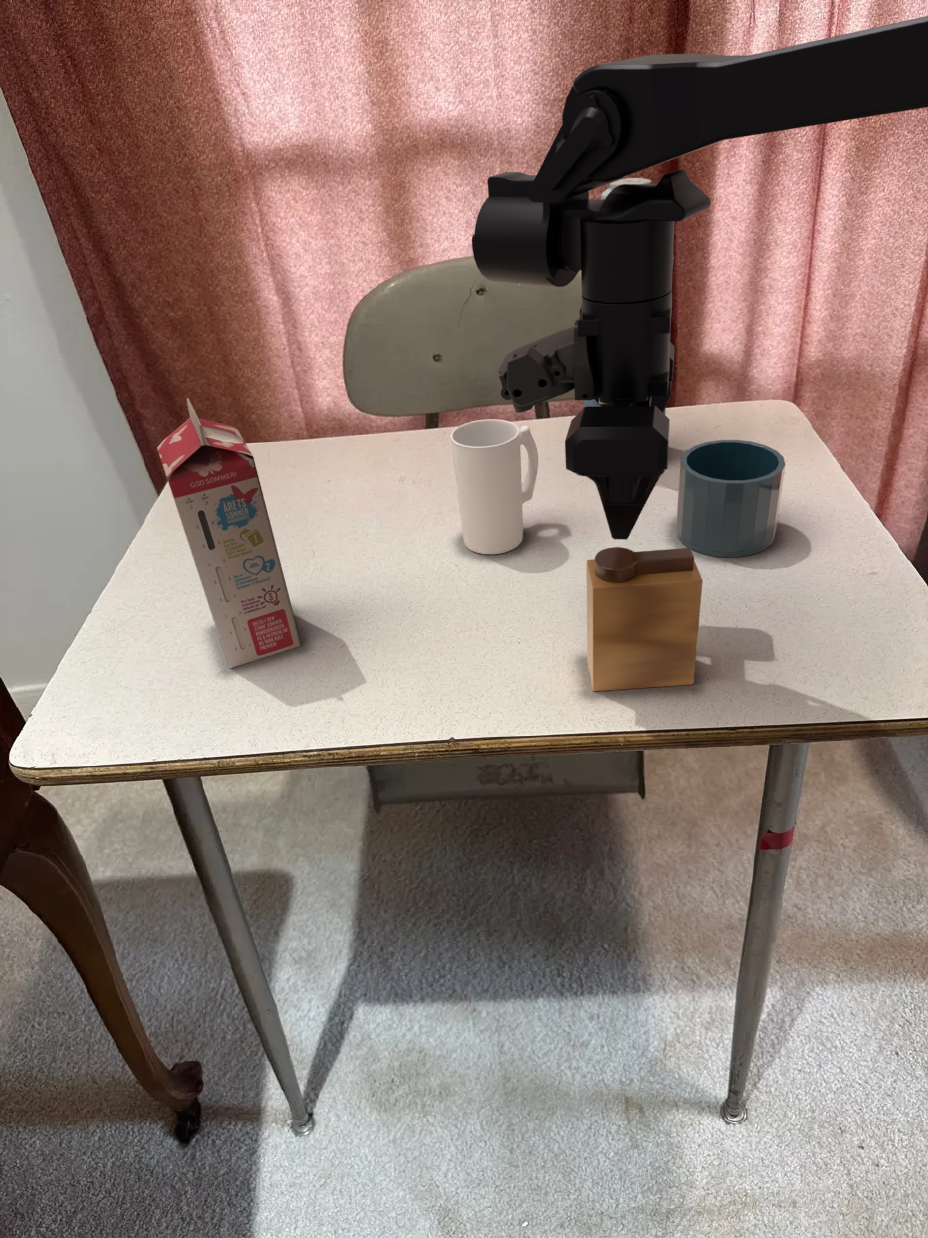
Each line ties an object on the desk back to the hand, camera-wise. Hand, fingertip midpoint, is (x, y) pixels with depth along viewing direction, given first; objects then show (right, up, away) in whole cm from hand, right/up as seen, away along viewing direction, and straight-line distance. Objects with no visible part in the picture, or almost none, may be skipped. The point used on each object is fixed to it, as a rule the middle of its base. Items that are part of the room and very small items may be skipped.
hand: (624, 507), depth 63 cm
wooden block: (+2, -13, +6) cm, 14 cm away
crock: (+14, 0, +22) cm, 27 cm away
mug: (-8, +1, +26) cm, 27 cm away
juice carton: (-31, -10, +15) cm, 36 cm away
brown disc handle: (+1, -5, 0) cm, 5 cm away
